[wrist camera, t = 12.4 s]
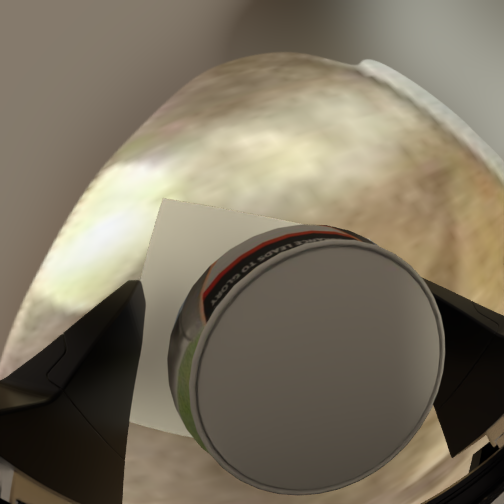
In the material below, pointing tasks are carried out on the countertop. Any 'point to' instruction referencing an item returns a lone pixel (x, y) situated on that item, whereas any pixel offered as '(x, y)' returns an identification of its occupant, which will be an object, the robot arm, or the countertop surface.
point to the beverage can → (306, 358)
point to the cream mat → (180, 292)
